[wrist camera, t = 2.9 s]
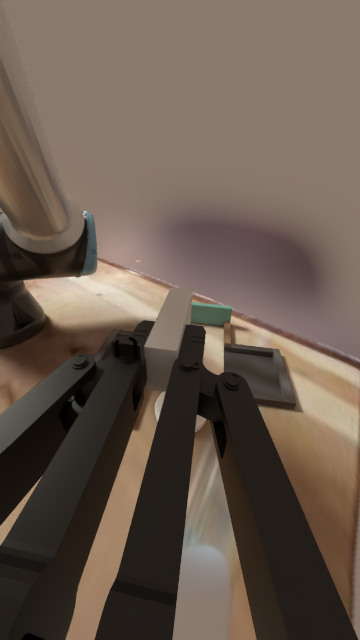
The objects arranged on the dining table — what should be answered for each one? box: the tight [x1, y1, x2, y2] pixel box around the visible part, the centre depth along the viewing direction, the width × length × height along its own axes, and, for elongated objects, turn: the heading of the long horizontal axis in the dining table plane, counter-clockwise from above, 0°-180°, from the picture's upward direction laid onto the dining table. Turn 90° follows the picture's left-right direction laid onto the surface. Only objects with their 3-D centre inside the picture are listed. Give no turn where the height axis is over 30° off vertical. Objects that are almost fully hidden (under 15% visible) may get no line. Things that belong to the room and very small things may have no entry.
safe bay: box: [165, 299, 232, 326], centre depth 53 cm, size 1×15×4 cm, turn 82°
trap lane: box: [94, 321, 296, 409], centre depth 42 cm, size 27×33×1 cm
